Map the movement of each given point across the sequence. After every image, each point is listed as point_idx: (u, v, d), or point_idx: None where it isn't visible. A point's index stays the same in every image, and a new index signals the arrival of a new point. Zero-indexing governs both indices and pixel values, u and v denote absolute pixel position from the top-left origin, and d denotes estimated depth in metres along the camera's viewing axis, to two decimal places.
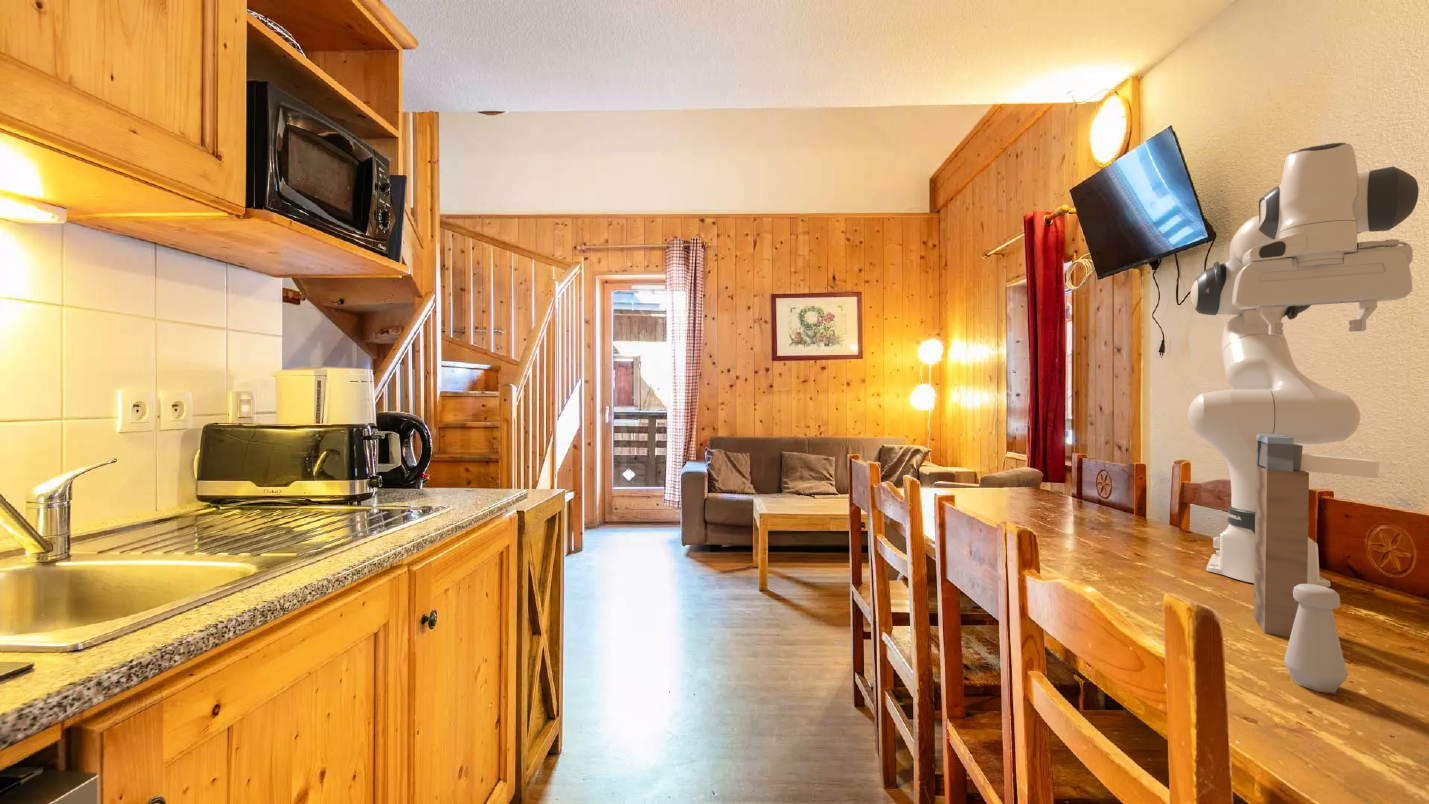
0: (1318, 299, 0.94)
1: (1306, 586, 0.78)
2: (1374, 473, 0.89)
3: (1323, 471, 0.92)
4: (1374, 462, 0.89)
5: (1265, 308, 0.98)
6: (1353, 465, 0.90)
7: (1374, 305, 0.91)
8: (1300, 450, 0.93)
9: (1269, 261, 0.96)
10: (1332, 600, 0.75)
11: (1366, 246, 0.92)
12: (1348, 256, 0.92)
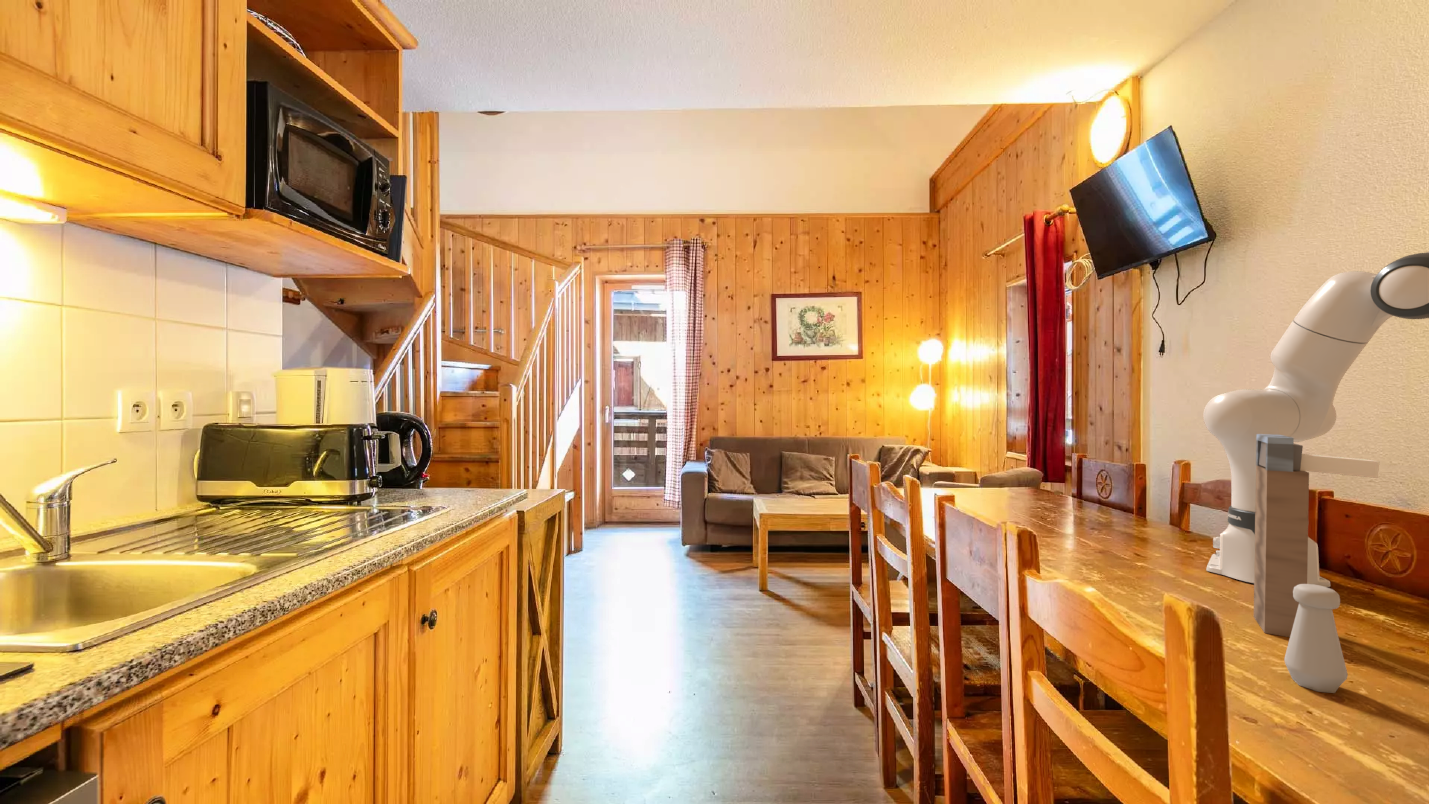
0: None
1: (1306, 586, 0.78)
2: (1374, 473, 0.89)
3: (1323, 471, 0.92)
4: (1374, 462, 0.89)
5: None
6: (1353, 465, 0.90)
7: None
8: (1300, 450, 0.93)
9: None
10: (1332, 600, 0.75)
11: None
12: None
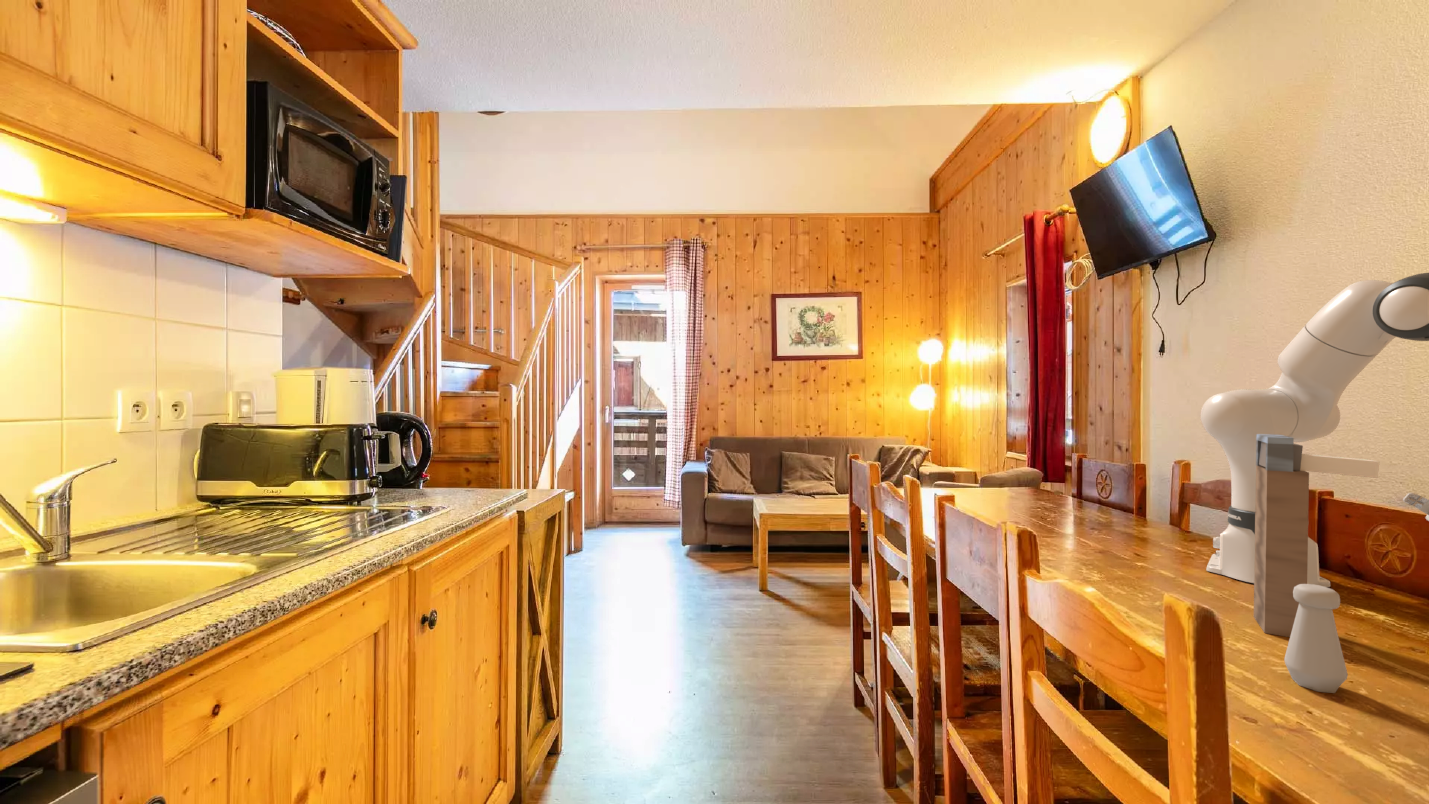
0: None
1: (1306, 586, 0.77)
2: (1374, 473, 0.89)
3: (1323, 471, 0.92)
4: (1374, 462, 0.89)
5: None
6: (1353, 465, 0.90)
7: (1428, 515, 0.91)
8: (1300, 450, 0.93)
9: None
10: (1332, 600, 0.75)
11: None
12: None
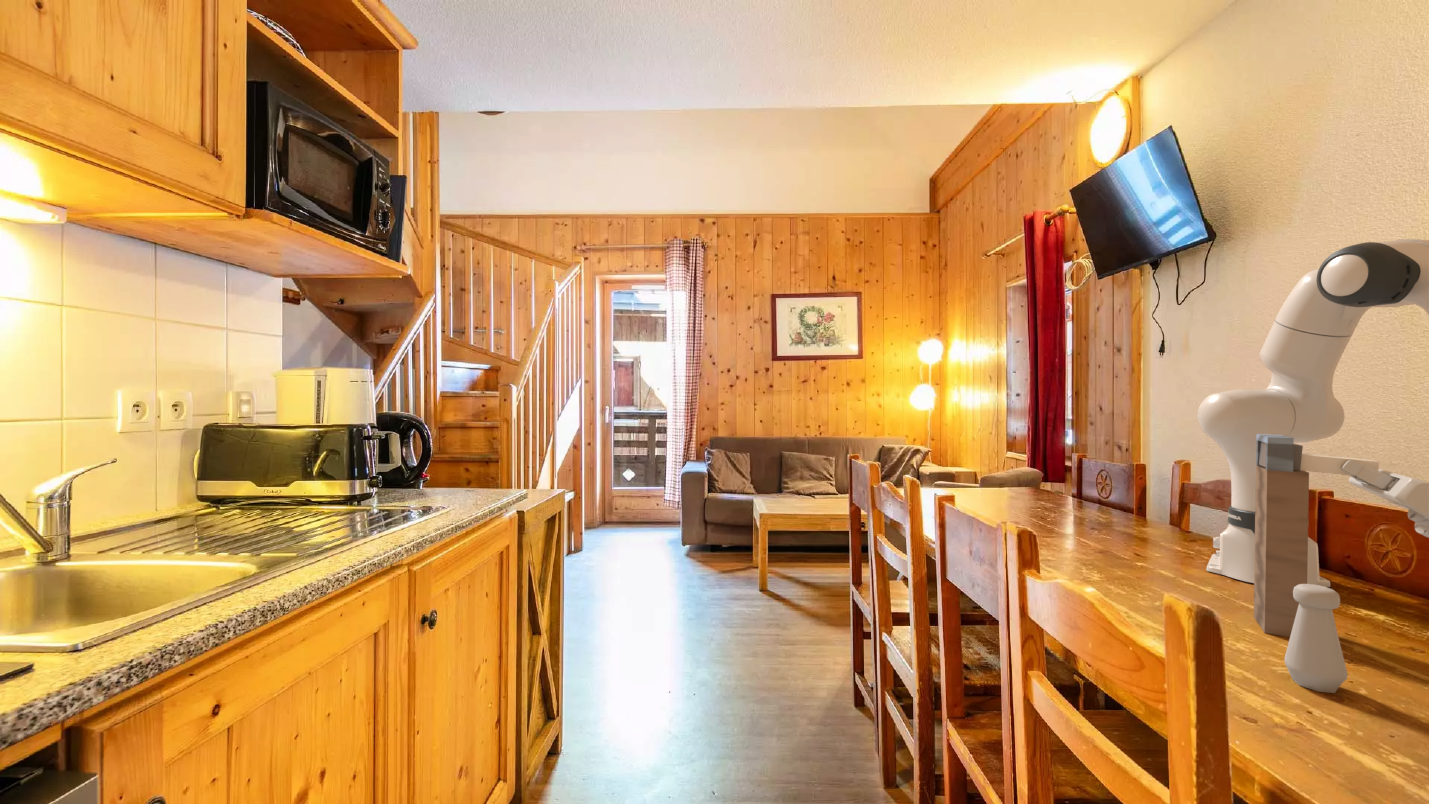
0: (1372, 490, 0.90)
1: (1306, 586, 0.78)
2: None
3: (1323, 471, 0.92)
4: (1374, 462, 0.89)
5: (1377, 486, 0.87)
6: None
7: (1355, 478, 0.94)
8: (1300, 450, 0.93)
9: None
10: (1332, 600, 0.75)
11: None
12: None
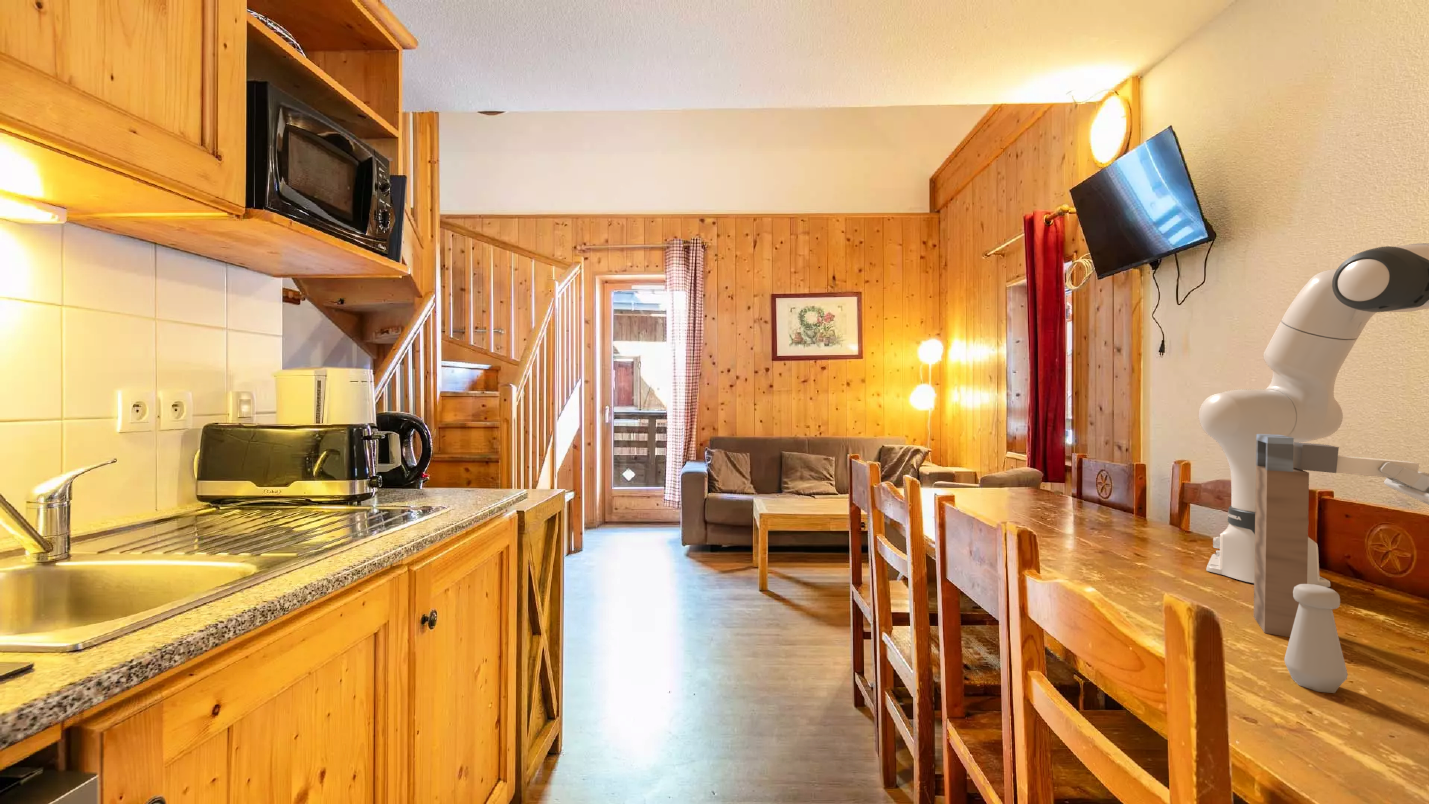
0: (1411, 493, 0.88)
1: (1306, 586, 0.78)
2: None
3: (1360, 473, 0.90)
4: (1413, 464, 0.87)
5: (1418, 489, 0.85)
6: None
7: (1392, 480, 0.92)
8: (1336, 452, 0.91)
9: None
10: (1332, 600, 0.75)
11: None
12: None
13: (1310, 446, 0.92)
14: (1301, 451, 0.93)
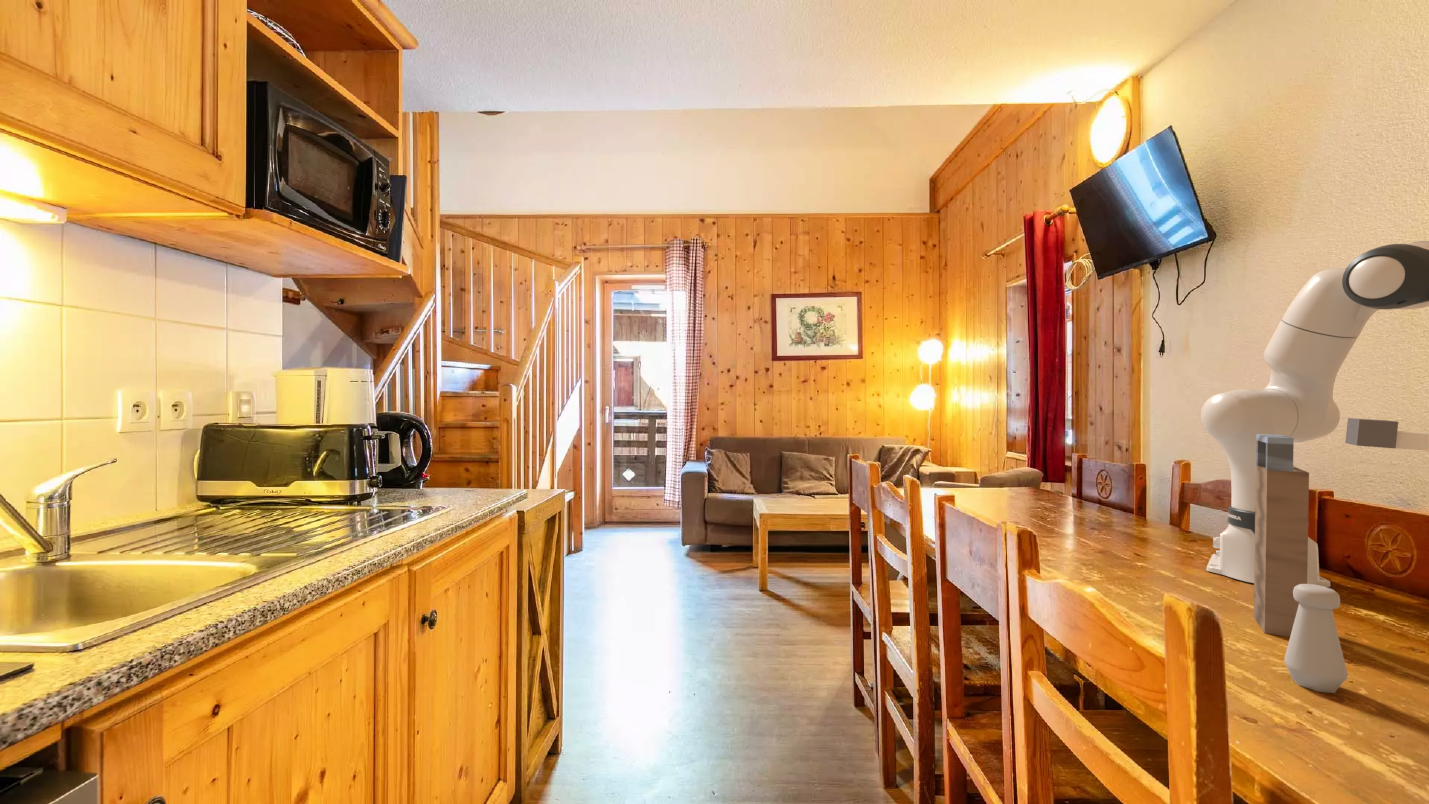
0: None
1: (1306, 586, 0.78)
2: None
3: (1421, 448, 0.86)
4: None
5: None
6: None
7: None
8: (1395, 426, 0.87)
9: None
10: (1332, 600, 0.75)
11: None
12: None
13: (1367, 421, 0.89)
14: (1358, 426, 0.90)
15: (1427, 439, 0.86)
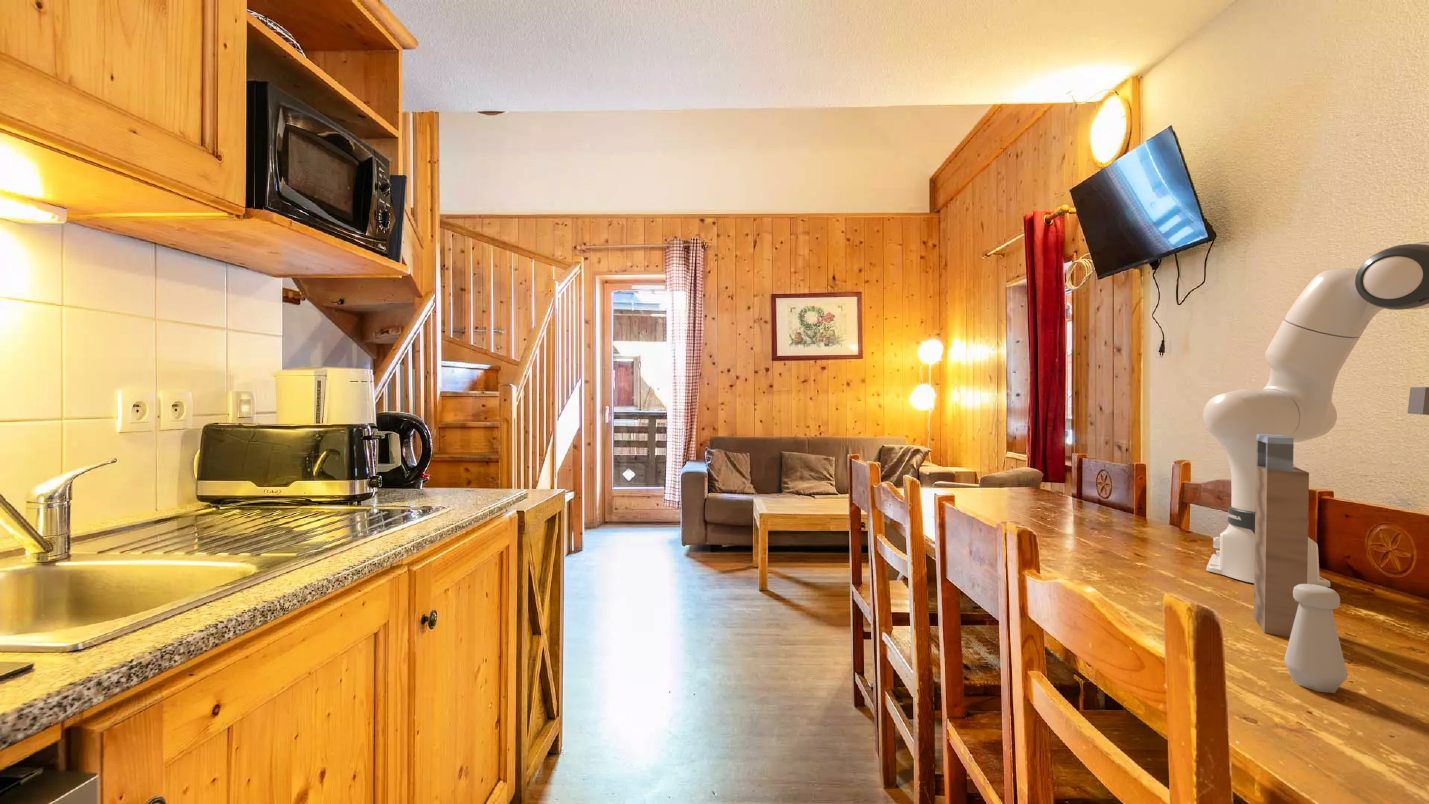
0: None
1: (1306, 586, 0.78)
2: None
3: None
4: None
5: None
6: None
7: None
8: None
9: None
10: (1332, 600, 0.75)
11: None
12: None
13: None
14: (1423, 394, 0.86)
15: None
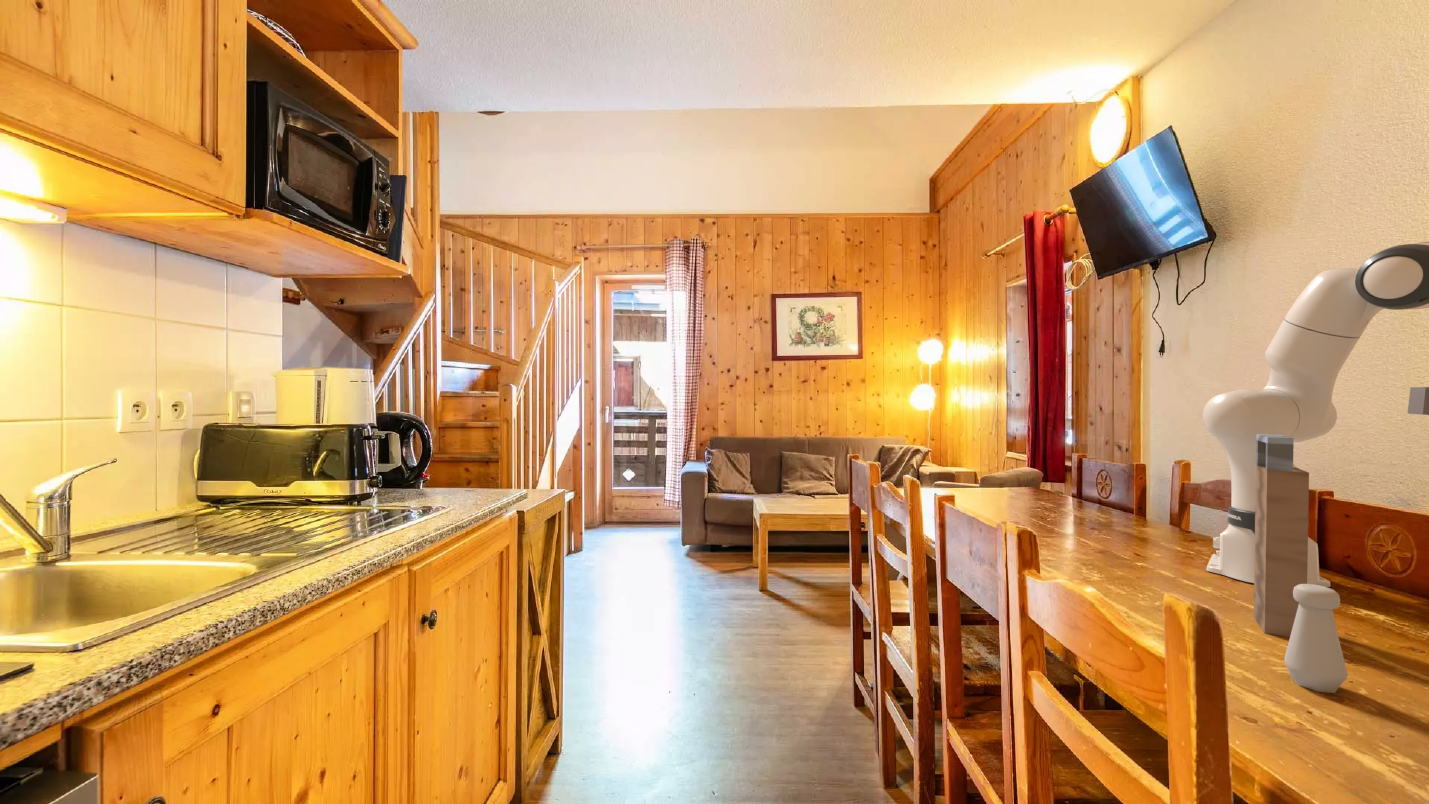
0: None
1: (1306, 586, 0.78)
2: None
3: None
4: None
5: None
6: None
7: None
8: None
9: None
10: (1332, 600, 0.75)
11: None
12: None
13: None
14: (1423, 394, 0.86)
15: None
